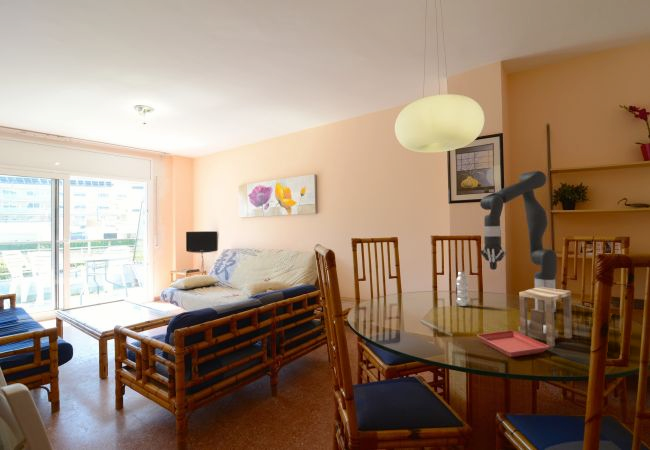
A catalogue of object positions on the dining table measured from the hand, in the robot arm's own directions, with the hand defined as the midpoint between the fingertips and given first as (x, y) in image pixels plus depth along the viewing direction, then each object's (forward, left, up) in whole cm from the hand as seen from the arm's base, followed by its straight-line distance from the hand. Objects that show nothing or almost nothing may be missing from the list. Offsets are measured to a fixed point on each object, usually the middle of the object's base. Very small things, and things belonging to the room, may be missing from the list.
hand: (493, 269), depth 162 cm
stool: (+8, +27, -25) cm, 38 cm away
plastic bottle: (-8, -24, -25) cm, 36 cm away
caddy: (+8, +24, -25) cm, 36 cm away
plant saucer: (+29, +24, -26) cm, 46 cm away
